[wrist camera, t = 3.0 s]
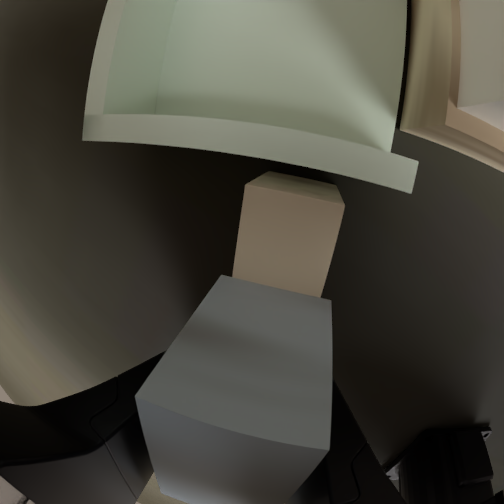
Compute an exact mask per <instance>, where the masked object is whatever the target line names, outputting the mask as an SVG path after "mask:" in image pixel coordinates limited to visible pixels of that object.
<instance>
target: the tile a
mask: <svg viewBox="0 0 504 504" xmlns="http://www.w3.org/2000/svg"><path fill="white" fill-rule="evenodd" d="M459 5H460V23H461V61H460V80H459V93H458V103H457V109H460V110H462V111H464V112H466V113H468V114H470V115H473V116H475V117H477V118H479V119H481V120H483V121H485V122H487V123H489V124H490V125H492V126H494V127H496V128H498V129H500V130H502V131H503V132H504V0H459Z"/></svg>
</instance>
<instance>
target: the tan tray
mask: <svg viewBox="0 0 504 504" xmlns="http://www.w3.org/2000/svg"><path fill="white" fill-rule="evenodd" d="M460 61H461V23H460V5H459V0H411V31H410V48H409V60H408V71H407V80H406V89H405V96H404V104H403V110H402V117H401V123H400V129H399V130H400V131H403V132H407V133H410V134H413V135H416V136H418V137H421V138H424V139H427V140H430V141H432V142H435V143H438V144H440V145H443V146H446V147H448V148H451V149H453V150H455V151H458V152H460V153H463V154H465V155H467V156H470V157H472V158H474V159H476V160H479V161H481V162H483V163H485V164H487V165H489V166H491V167H493V168H495V169H497V170H499V171H501V172H503V173H504V132H503V131H502V130H500V129H498V128H496V127H494V126H492V125H490V124H489V123H487V122H485V121H483V120H481V119H479V118H477V117H475V116H473V115H470V114H468V113H466V112H464V111H462V110H460V109H457V103H458V93H459V80H460Z"/></svg>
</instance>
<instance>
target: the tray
mask: <svg viewBox="0 0 504 504" xmlns="http://www.w3.org/2000/svg"><path fill="white" fill-rule="evenodd" d="M406 19H407V0H108V2H107V5H106V8H105V12H104V15H103V19H102V22H101V26H100V30H99V34H98V38H97V43H96V47H95V52H94V56H93V61H92V67H91V72H90V78H89V84H88V91H87V98H86V105H85V114H84V124H83V135H82V141H108V142H127V143H142V144H155V145H166V146H176V147H185V148H194V149H202V150H210V151H217V152H225V153H231V154H238V155H244V156H251V157H257V158H262V159H268V160H274V161H279V162H284V163H289V164H294V165H299V166H304V167H309V168H314V169H318V170H323V171H327V172H331V173H336V174H340V175H344V176H348V177H352V178H356V179H360V180H364V181H368V182H372V183H375V184H379V185H383V186H386V187H390V188H393V189H397V190H400V191H403V192H407V193H410V194H411V193H412V189H413V185H414V181H415V177H416V172H417V168H418V163H419V161H416V160H413V159H410V158H406V157H403V156H400V155H397V154H394V153H390V151H391V146H392V141H393V135H394V130H395V124H396V118H397V111H398V105H399V98H400V90H401V82H402V73H403V64H404V53H405V39H406Z"/></svg>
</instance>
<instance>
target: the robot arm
mask: <svg viewBox="0 0 504 504" xmlns="http://www.w3.org/2000/svg"><path fill="white" fill-rule="evenodd" d="M166 351H167V350H166ZM166 351H164V352H162V353H160V354H158V355H157V356H155V357H153V358H151V359H149V360H147V361H145V362H143V363H141V364H139V365H137V366H135V367H134V368H132V369H130V370H128V371H126V372H124V373H122V374H120V375H118V378H117V377H114V378H112V379H110V380H108V381H106V382H103V383H101V384H99V385H97V386H95V387H92V388H90V389H87V390H84V391H82V392H79V393H76V394H74V395H71V396H68V397H65V398H62V399H59V400H55V401H52V402H49V403H46V404H42V405H38V406H20V405H15V404H11V403H6V402H2V401H0V504H135V503H136V501H137V499H138V498H139V496H140V494H141V493H142V491H143V489H144V487H145V486H146V484H147V482H148V481H149V479H150V477H151V476H152V474H153V472H154V469H153V466H152V463H151V459H150V456H149V452H148V449H147V445H146V442H145V438H144V434H143V430H142V426H141V422H140V418H139V413H138V409H137V404H136V399H135V395H136V394H137V392H138V391H139V389H140V388H141V387H142V385H143V384H144V382H145V381H146V379H147V378H148V377H149V375H150V374H151V372H152V371H153V370H154V368H155V367H156V365H157V364H158V362H159V361H160V360H161V358H162V357H163V355H164V354H165V353H166ZM491 433H492V430H491V428H490V427H481V428H467V429H431V430H426V431H424V432H423V433H422V434H420V436H419V437H418V438H417V439H416V440H415V441H414V442H413V443H412V444H411V445H410V446H409V447H408V448H407V449H406V450H405V451H404V452H403V453H402V454H401V455H400V456H399V457H398V458H397V459H396V460H395V461H394V462H393V463H392V464H391V465H390V466H389V467H388V468H387V469H385V470H383V468H382V467H381V465H380V464H379V462H378V460H377V458H376V457H375V455H374V453H373V451H372V449H371V448H370V446H369V444H368V443H367V440H366V438H365V437H364V435H363V433H362V431H361V429H360V427H359V425H358V423H357V422H356V420H355V418H354V416H353V414H352V412H351V410H350V409H349V407H348V405H347V403H346V401H345V399H344V397H343V396H342V394H341V392H340V390H339V388H338V386H337V385H336V383H335V381H334V379H333V377H332V410H331V432H330V449H329V451H328V453H327V454H326V455H325V457H324V458H323V459H322V460H321V462H320V463H319V464H318V465H317V467H316V468H315V469H314V470H313V472H312V473H311V474H310V475H309V476H308V478H307V479H306V480H305V481H304V482H303V483H302V485H301V486H300V487H299V488H298V489H297V490H296V491H295V493H294V494H293V495H292V496H291V497H290V498H289V499H288V500H287V501H286V502H285V504H504V491H503V490H502V491H500V492H498V493H496V494H495V496H494V494H493V489H492V484H491V479H493V470H492V466H491V463H490V459H489V455H488V452H487V448H486V445H485V442H484V441H485V440H486V439H487V438H488V437H489V436H490V435H491ZM391 480H399V492H398V490H397V489H396V487H395V486H394V485H393V483H392V482H391Z"/></svg>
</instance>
